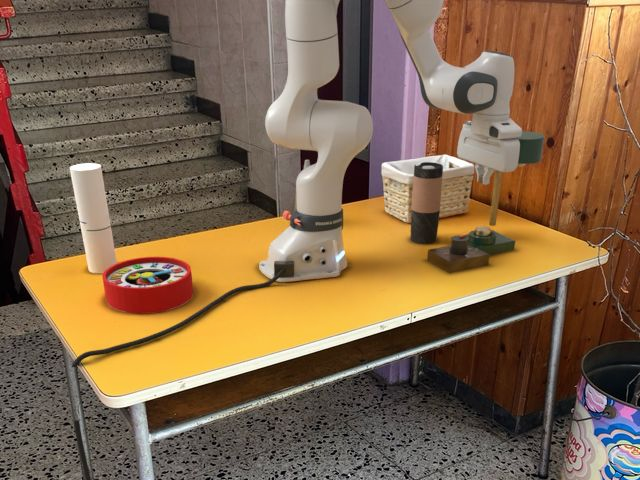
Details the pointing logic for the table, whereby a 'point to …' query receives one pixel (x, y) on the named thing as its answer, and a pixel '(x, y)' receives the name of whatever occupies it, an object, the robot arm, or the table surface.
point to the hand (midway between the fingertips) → (482, 183)
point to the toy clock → (148, 284)
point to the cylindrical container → (93, 216)
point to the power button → (482, 231)
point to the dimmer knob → (459, 244)
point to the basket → (452, 191)
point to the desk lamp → (528, 154)
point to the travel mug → (426, 202)
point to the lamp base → (491, 242)
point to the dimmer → (457, 259)
